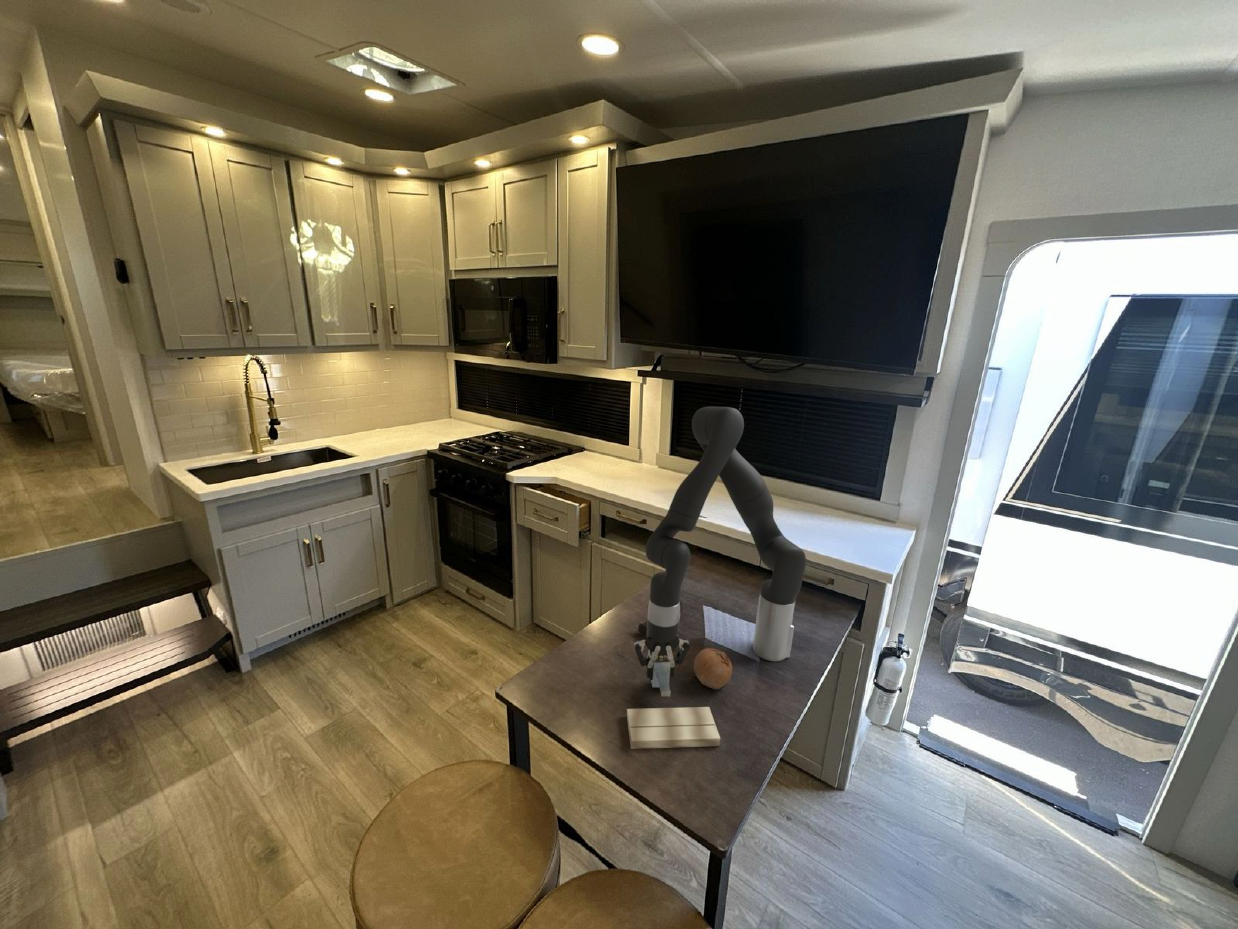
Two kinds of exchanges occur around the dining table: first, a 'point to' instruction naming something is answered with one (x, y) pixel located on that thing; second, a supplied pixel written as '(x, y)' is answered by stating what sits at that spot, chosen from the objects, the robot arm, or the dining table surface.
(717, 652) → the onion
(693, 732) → the board
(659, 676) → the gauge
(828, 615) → the dining table surface
